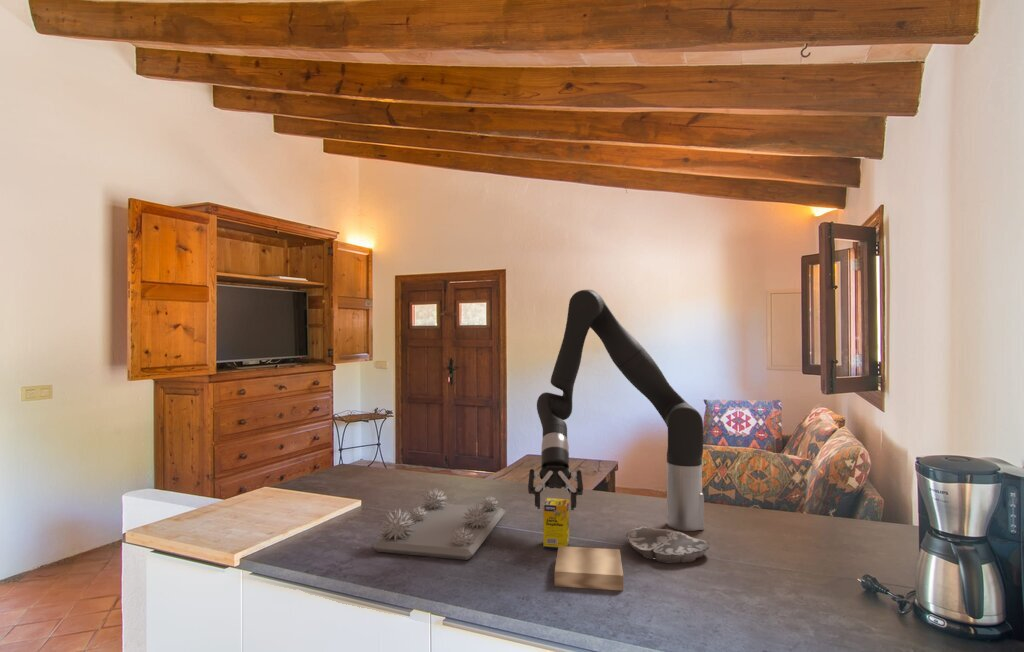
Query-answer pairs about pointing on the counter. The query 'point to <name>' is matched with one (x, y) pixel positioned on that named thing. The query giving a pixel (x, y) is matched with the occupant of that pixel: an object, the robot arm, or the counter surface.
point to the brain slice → (666, 544)
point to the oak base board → (589, 568)
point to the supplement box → (555, 523)
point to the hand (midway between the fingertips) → (555, 508)
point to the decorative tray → (439, 528)
